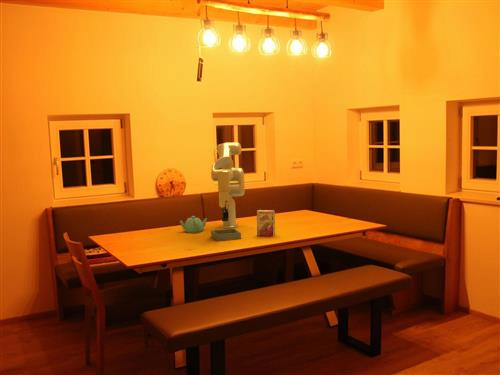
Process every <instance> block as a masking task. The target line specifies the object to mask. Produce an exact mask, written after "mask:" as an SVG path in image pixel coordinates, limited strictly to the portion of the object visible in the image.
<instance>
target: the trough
mask: <svg viewBox="0 0 500 375" xmlns="http://www.w3.org/2000/svg"><path fill="white" fill-rule="evenodd" d="M210 235H211V238H212V239H214V241H216V242H222V241H231V240H233V241H234V240H241V239H242V232H241V231H239V230H238V229H236V227H234V228H222V229H212V230H210Z"/></svg>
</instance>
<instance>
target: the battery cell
mask: <svg viewBox="0 0 500 375" xmlns="http://www.w3.org/2000/svg"><path fill="white" fill-rule="evenodd" d="M220 210H221V211H222V212H221V222H223V221H229V218H224V215H223V212H224V208H221V207H220Z"/></svg>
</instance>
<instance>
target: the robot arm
mask: <svg viewBox="0 0 500 375" xmlns="http://www.w3.org/2000/svg"><path fill="white" fill-rule="evenodd" d="M216 150H217V151H216V152H217V154H218V159H216V160H215V161H214V162H213V164H212V165H211V171H210V174H211V176H210V178H211V180H212V181H214V182H217V192H218V206H219V207H220V209H221V208H224V212H223V215H224V218H229V221H222V224H221V225H220V228H222V229H233V228H238V227H239V224H238V223H237V221H236V220H237V219H236V218H237V217H236V215H237V214H236V202H235V199H233V198H232V197H243V196H244V195H245V191H246V190H245V172H244V169H243V168H242V167H234V161H233V159H232V156H240V155H241V153H242V145H241V143H240V142H223V143H220V144H217V146H216ZM220 213H222V211H221V212H220Z"/></svg>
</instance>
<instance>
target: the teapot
mask: <svg viewBox="0 0 500 375" xmlns="http://www.w3.org/2000/svg"><path fill="white" fill-rule="evenodd" d="M207 221H208V217H205V218H204V219H203V220H201V219H200V218H199V217H196V216H195V215H191V217H188V218H187V219H186V220H185V222H184V221H183V220H179V223H180V226H181V227H182V229H183V230H184V232H186V233H188V234H196V233H202V232H203V231H204V229H205V228H206V227H205V226H206V225H207Z"/></svg>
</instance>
